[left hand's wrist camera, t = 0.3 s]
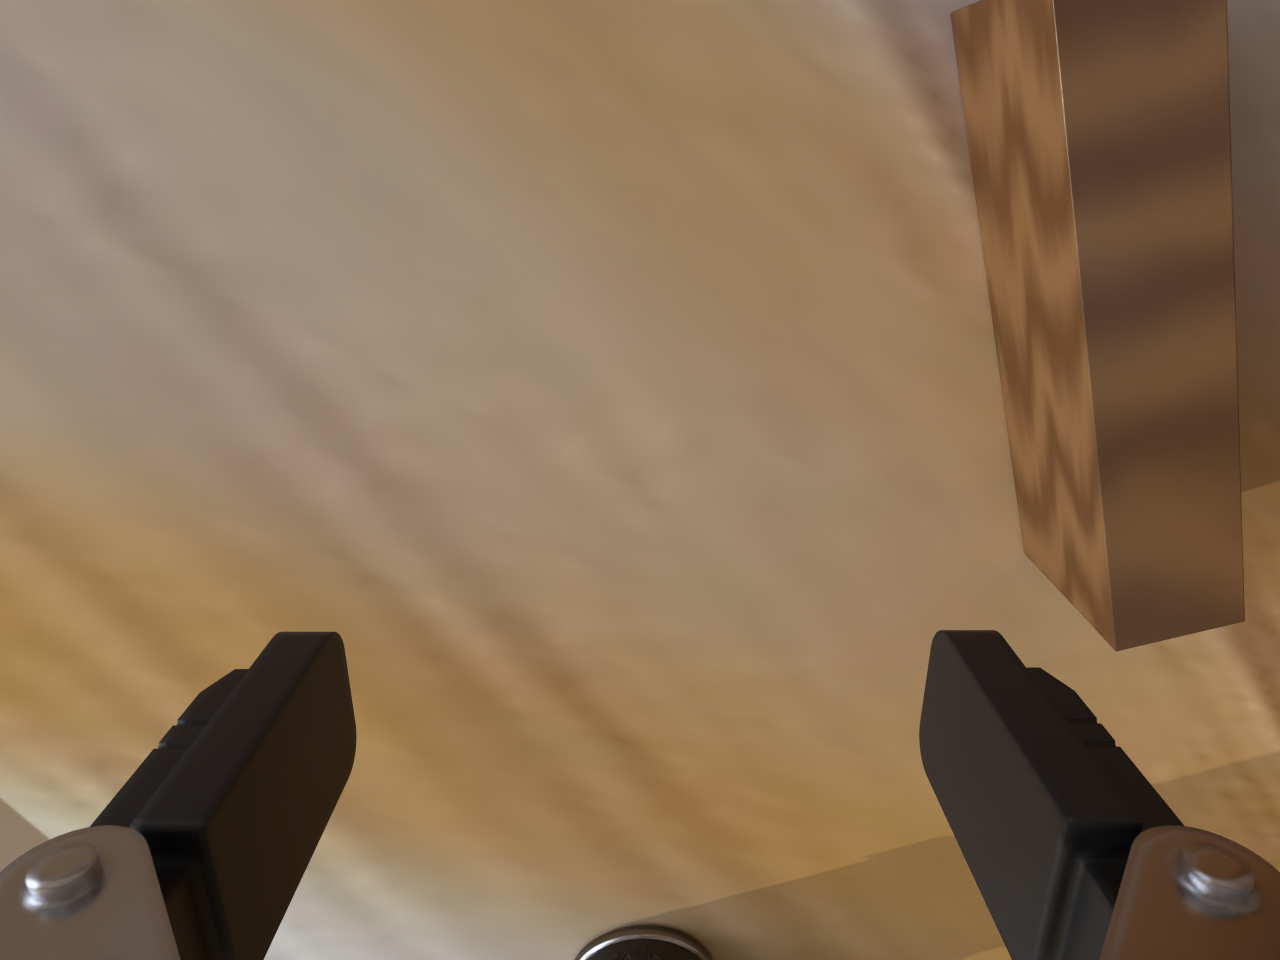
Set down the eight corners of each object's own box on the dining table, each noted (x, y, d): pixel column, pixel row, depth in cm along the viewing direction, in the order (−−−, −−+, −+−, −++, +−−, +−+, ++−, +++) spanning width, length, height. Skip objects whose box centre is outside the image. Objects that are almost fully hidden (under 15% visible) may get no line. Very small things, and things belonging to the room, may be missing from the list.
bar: (1127, 528, 42) (1245, 621, 34) (1024, 553, 43) (1115, 652, 35) (1079, -29, 33) (1225, -85, 25) (949, 13, 34) (1049, -29, 26)
